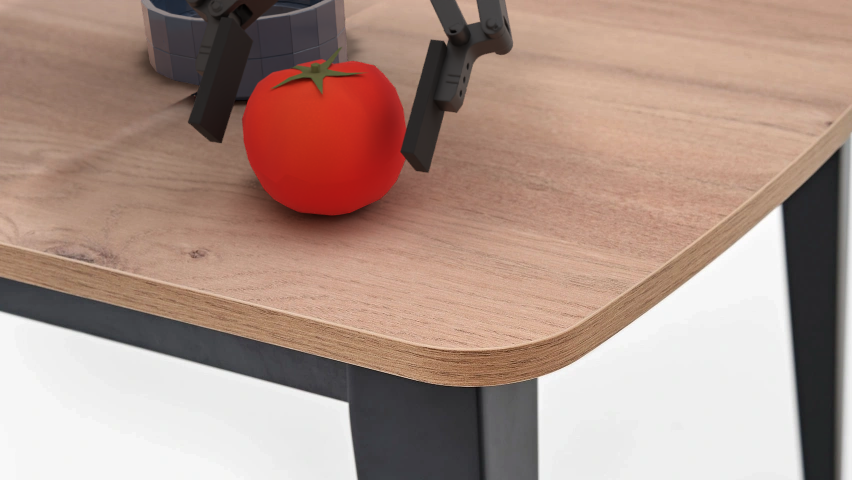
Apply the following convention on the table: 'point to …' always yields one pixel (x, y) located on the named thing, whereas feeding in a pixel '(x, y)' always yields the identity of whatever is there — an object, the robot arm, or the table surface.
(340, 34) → the faceted grey ring
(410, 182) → the table surface
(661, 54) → the table surface
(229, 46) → the robot arm
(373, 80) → the tomato
